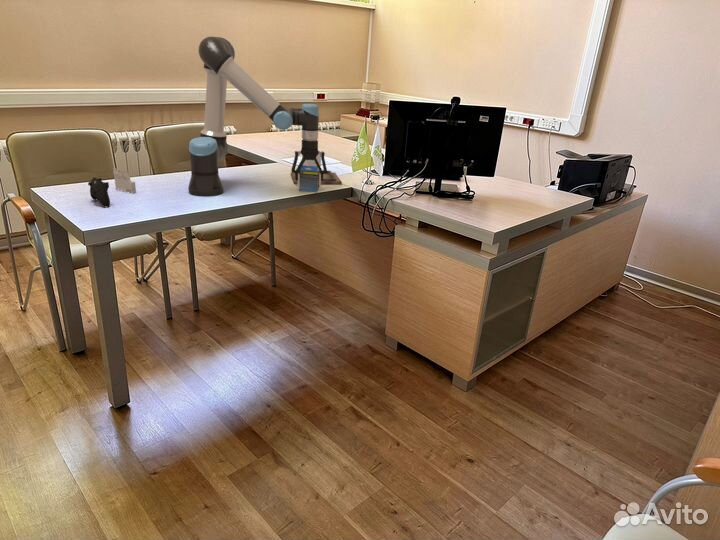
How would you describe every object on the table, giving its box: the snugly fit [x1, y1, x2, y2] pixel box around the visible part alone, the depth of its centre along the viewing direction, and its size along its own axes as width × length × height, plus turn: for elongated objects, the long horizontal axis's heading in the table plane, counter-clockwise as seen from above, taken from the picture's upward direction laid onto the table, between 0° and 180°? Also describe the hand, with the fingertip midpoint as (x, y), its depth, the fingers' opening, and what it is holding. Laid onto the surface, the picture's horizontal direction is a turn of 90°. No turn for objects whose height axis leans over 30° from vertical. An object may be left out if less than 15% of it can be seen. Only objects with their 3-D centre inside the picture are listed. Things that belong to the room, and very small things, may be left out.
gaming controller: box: [87, 177, 111, 207], centre depth 202 cm, size 14×6×10 cm, turn 44°
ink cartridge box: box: [112, 167, 137, 194], centre depth 221 cm, size 2×11×10 cm, turn 59°
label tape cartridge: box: [298, 165, 320, 193], centre depth 239 cm, size 9×4×12 cm, turn 84°
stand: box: [290, 170, 343, 186], centre depth 262 cm, size 24×21×3 cm
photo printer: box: [301, 149, 322, 171], centre depth 276 cm, size 10×4×12 cm, turn 103°
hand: (309, 187), depth 241 cm, fingers closed on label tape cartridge, 9 cm apart
